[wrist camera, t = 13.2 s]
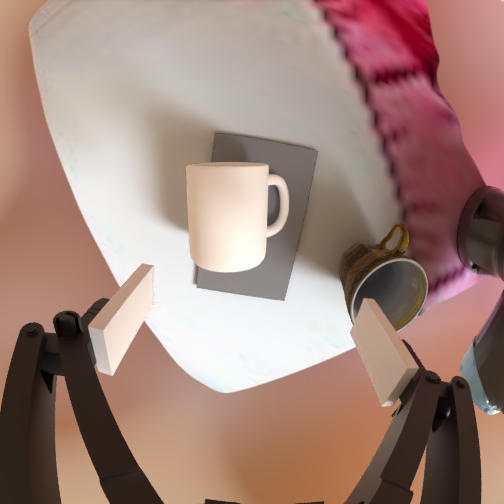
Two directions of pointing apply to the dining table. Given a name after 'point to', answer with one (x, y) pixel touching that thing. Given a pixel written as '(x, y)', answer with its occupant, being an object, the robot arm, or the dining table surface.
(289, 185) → the mat
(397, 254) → the ceramic cup
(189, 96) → the dining table surface
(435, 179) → the dining table surface
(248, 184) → the cup
